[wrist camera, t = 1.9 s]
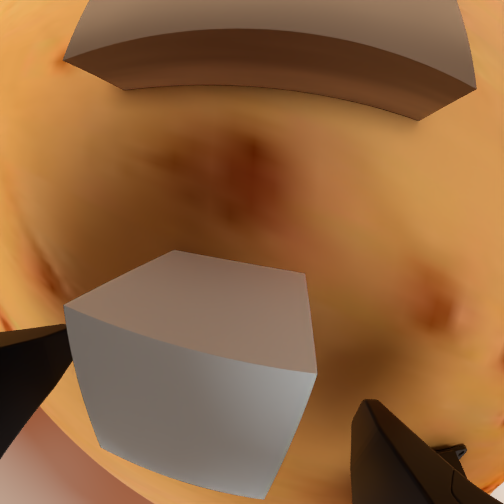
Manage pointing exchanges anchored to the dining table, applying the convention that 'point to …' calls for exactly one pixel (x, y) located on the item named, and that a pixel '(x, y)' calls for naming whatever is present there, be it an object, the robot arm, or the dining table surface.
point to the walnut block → (284, 48)
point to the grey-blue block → (197, 367)
